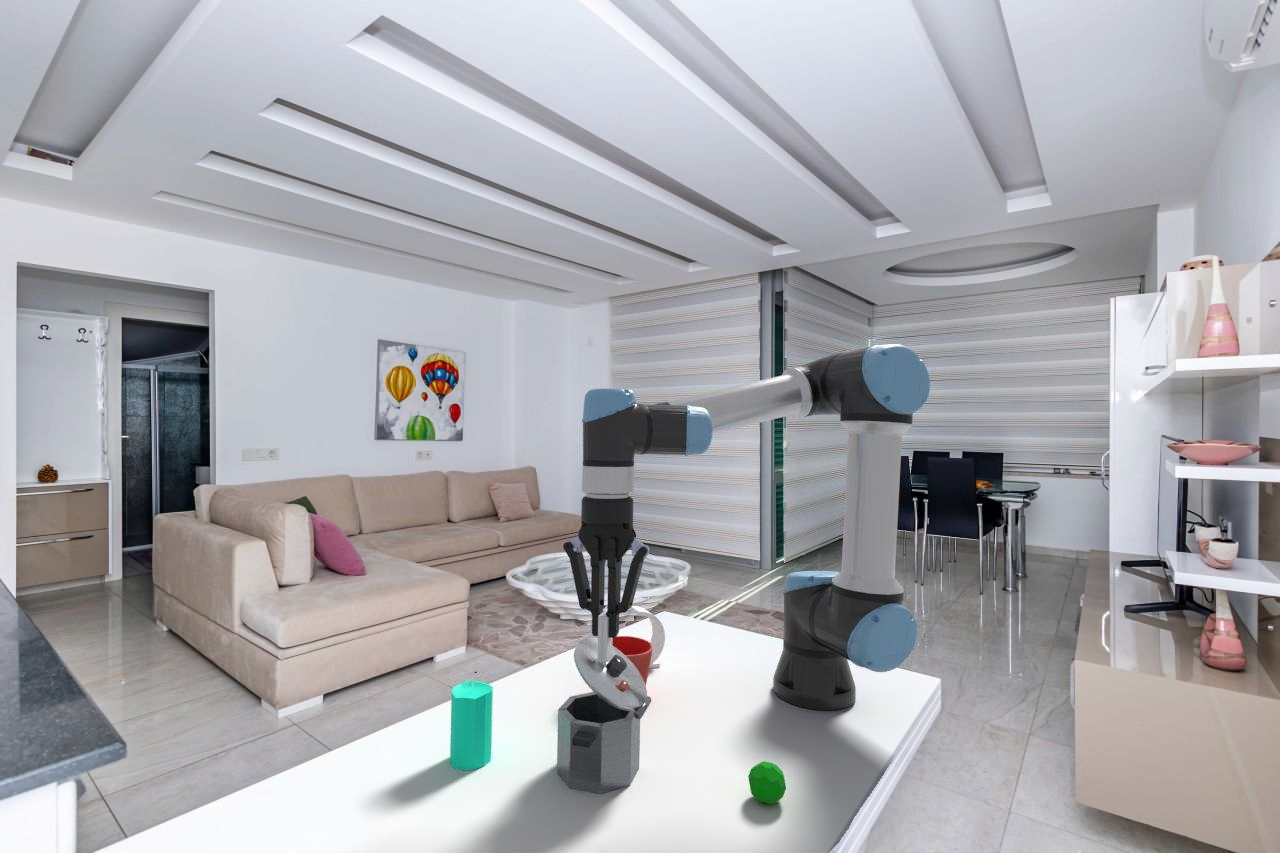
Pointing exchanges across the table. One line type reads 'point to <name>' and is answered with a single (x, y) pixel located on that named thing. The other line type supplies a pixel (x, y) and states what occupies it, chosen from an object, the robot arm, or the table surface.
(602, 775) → the pot
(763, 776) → the polyhedron
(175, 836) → the table surface
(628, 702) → the lid
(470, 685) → the candle
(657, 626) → the headphone stand
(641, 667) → the flower pot
